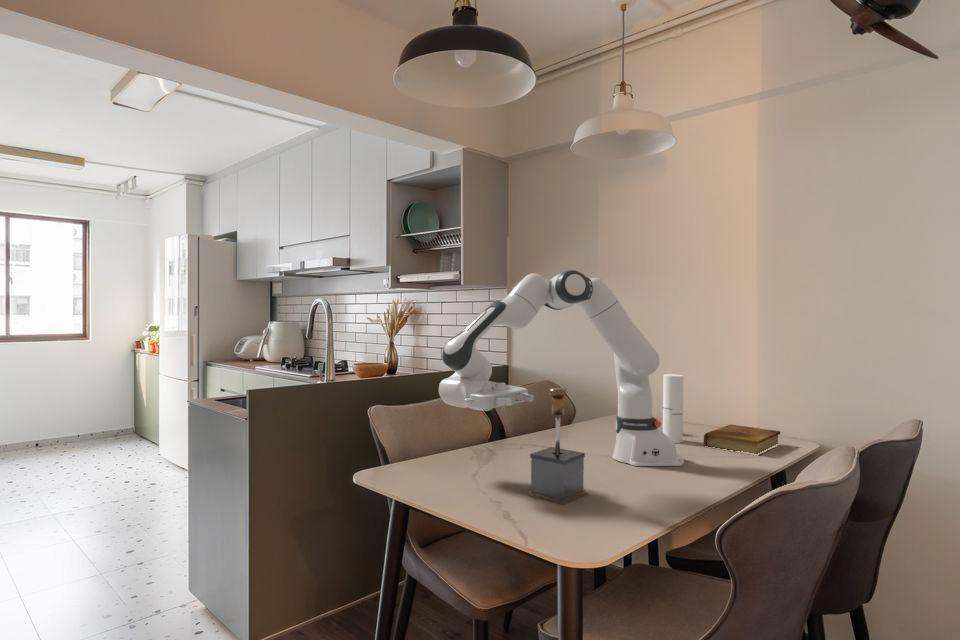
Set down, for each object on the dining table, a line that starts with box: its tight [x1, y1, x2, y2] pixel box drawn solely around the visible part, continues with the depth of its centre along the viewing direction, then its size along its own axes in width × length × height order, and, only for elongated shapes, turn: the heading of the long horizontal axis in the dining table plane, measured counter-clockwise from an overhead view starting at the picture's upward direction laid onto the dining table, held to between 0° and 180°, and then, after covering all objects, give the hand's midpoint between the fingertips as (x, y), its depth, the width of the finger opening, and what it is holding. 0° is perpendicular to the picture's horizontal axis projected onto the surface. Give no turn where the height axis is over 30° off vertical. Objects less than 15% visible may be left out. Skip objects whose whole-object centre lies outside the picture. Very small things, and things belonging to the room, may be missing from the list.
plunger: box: [549, 387, 568, 455], centre depth 151 cm, size 8×8×19 cm
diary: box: [703, 424, 781, 454], centre depth 208 cm, size 23×19×6 cm
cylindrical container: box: [662, 373, 684, 444], centre depth 215 cm, size 7×7×25 cm
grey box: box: [528, 446, 587, 505], centre depth 151 cm, size 11×11×11 cm
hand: (522, 400), depth 158 cm, fingers open, 8 cm apart
